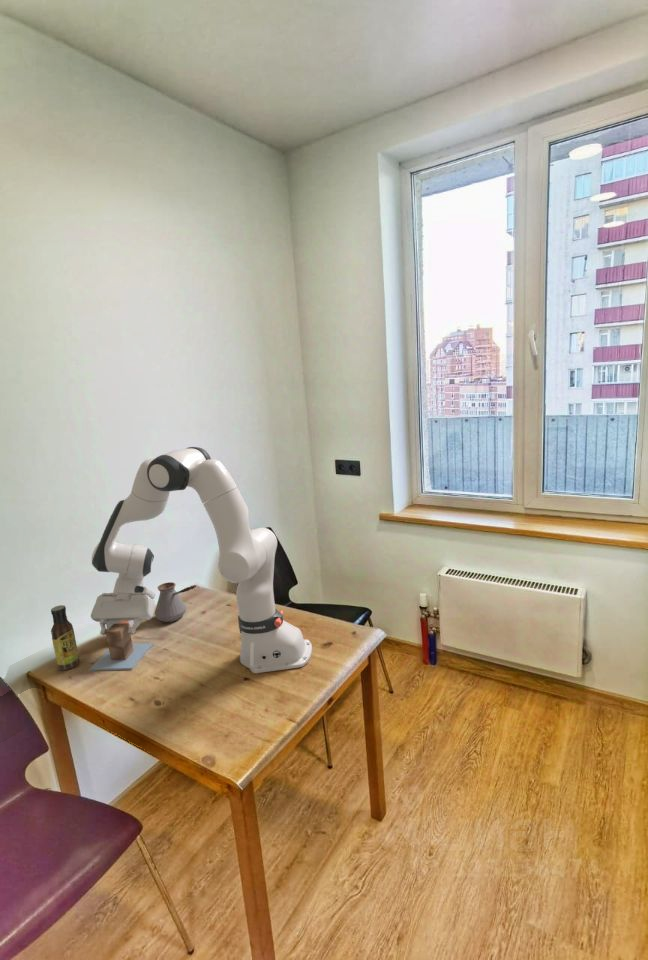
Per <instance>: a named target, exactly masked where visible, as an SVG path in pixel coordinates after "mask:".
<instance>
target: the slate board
mask: <svg viewBox="0 0 648 960" xmlns="http://www.w3.org/2000/svg"><path fill="white" fill-rule="evenodd" d="M132 645H133V652H132V653H131V654H130V656H129V657H128V658H127V659H126V660H111V657H110V652H109V649H108V650H106V651H105V653H104V654H102V655H101V657H100V658H99V659H98V660H97V661H96V662H95V663H94V664H93V665H92V666H91V667H90V668H89V671H122V670H123V671H124V670H125V671H127V670H128V671H130V670H133V669H134V668H135V667H136V666H137V665H138V663H139V662H140V661H141V660H142V659H143V658H144V656H145V655H146V654H147V653H148V652H149V651H150V649H151V648H152V647H153V645H154V643H153V642H150V643H149V642H148V643H147V642H145V643H141V642H140V643H132Z"/></svg>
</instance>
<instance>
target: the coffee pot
mask: <svg viewBox="0 0 648 960" xmlns="http://www.w3.org/2000/svg"><path fill="white" fill-rule="evenodd" d="M175 587H176V583H175V582H172V581H171V582H164V583H161V584H159V585H158V586H157V590H158V591H159V596H158V601H157V604H156V607H155V609H154V616H155V618H156V619H157V620H158V621H161V622H162V623H173V622H176V621H178V620H180V619H181V618H182V617H183V616H184V614H185V613H186V610H187V605H186V604H185V602H184V601H183V599H182V598H181V596H180V595H179V594H182V593H185V592H189V591H190V590H194V591H195V592H197V591H199V590H200V586H199V585H197V584H195V585H191V586H187V587H185V588H184V589H181V590H179V591H176V589H175ZM197 587H198V589H195V588H197Z"/></svg>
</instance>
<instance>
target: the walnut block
mask: <svg viewBox="0 0 648 960" xmlns="http://www.w3.org/2000/svg"><path fill="white" fill-rule="evenodd" d="M128 630H129V624H128V623H120V624H113V625H112V626H111V627H110V628H109V629H108V630H107V631H106V635H105V636H106V642H107V646H108V650H109V652H110V657H111V660H126V659H127V658H128V657H129V656H130V654H131V653H132V652H133V645H132V644H133V642H132V635H130V634H129V633H128Z"/></svg>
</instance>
